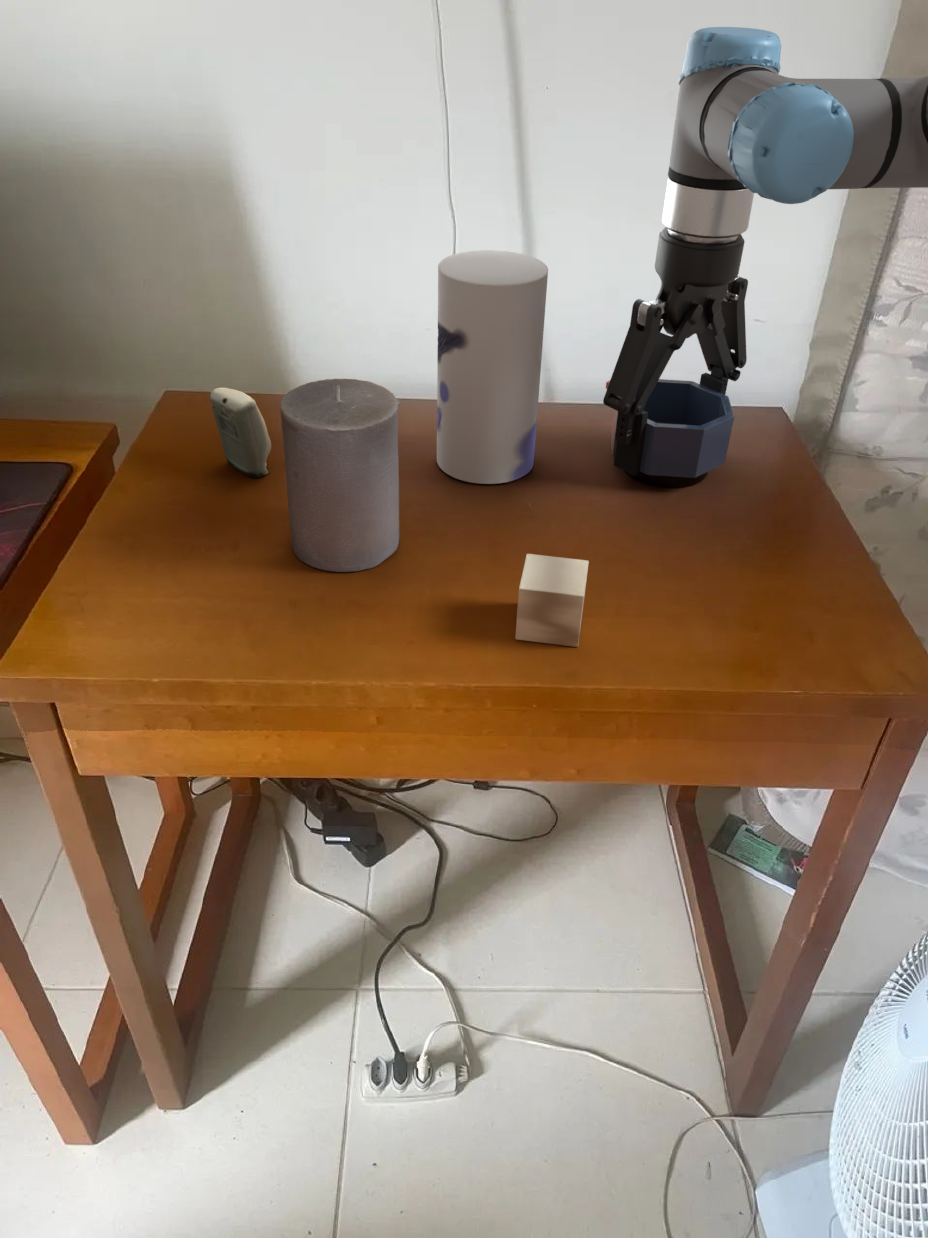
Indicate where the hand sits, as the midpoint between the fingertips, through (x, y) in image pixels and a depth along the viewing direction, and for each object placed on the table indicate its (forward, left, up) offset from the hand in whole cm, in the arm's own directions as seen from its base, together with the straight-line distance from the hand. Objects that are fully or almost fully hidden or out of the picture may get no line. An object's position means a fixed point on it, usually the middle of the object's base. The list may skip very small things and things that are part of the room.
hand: (665, 452), depth 100 cm
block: (-12, +28, -2) cm, 31 cm away
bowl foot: (0, 0, -2) cm, 2 cm away
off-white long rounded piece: (+26, +34, -2) cm, 43 cm away
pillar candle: (+8, +34, -2) cm, 35 cm away
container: (+12, +14, -2) cm, 19 cm away
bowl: (+1, 0, 0) cm, 1 cm away
